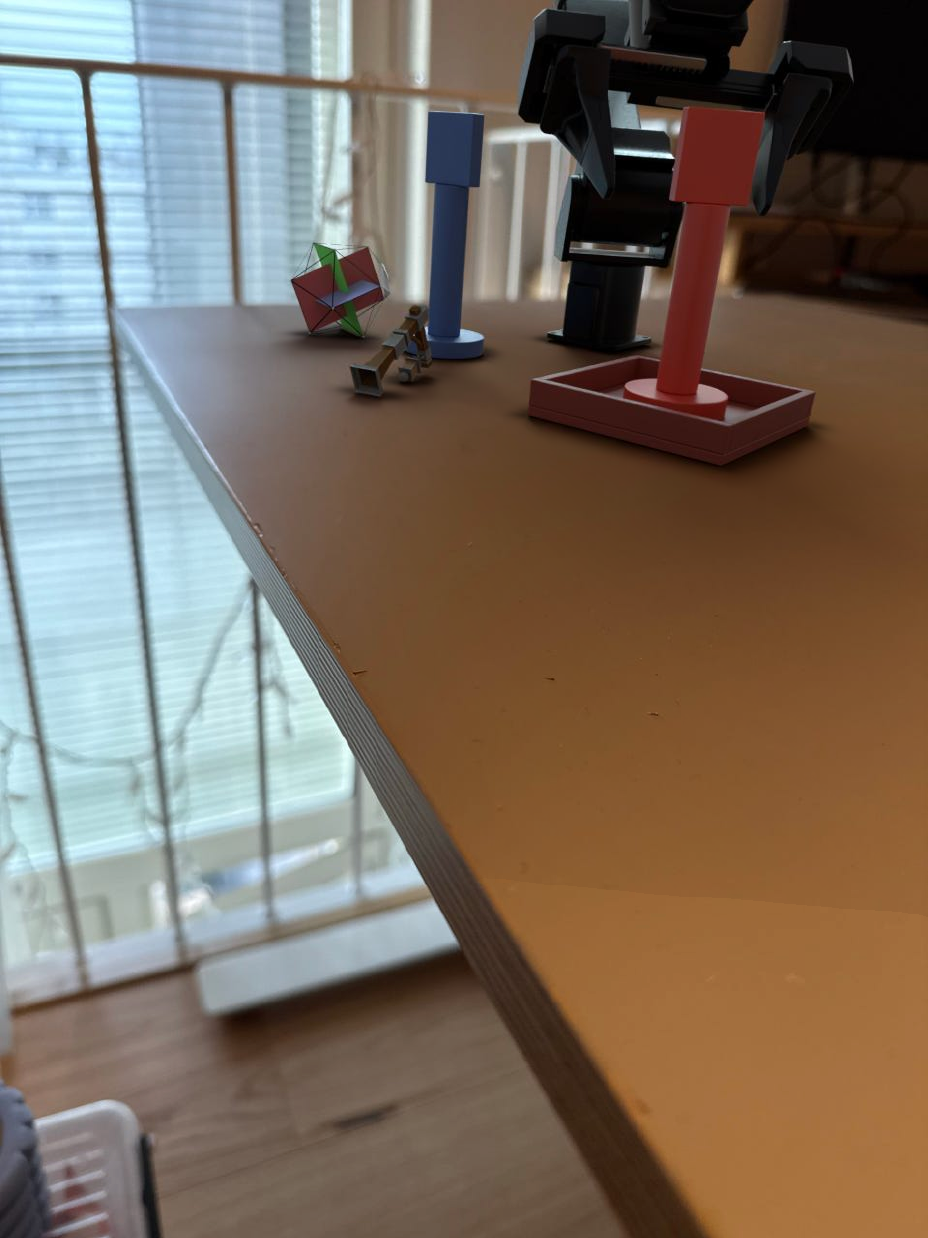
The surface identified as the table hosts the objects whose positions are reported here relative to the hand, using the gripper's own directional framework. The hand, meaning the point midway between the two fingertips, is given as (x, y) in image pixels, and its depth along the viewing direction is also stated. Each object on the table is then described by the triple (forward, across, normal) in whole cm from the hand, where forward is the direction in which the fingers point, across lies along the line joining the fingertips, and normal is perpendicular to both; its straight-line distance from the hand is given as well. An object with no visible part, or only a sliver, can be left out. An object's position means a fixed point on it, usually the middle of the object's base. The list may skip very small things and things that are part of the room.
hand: (687, 202), depth 53 cm
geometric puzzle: (-4, -20, +22) cm, 30 cm away
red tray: (+11, 0, +6) cm, 12 cm away
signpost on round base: (+10, 0, +5) cm, 12 cm away
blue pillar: (-1, -12, +18) cm, 22 cm away
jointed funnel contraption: (+7, -16, +10) cm, 20 cm away
